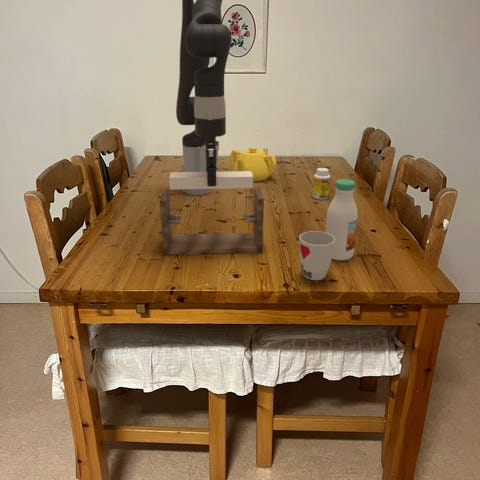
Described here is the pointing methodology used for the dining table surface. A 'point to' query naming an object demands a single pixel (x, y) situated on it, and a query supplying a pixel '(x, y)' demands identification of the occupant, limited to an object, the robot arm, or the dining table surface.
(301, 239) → the cup
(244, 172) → the shelf board
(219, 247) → the shelf frame
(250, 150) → the teapot
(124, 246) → the dining table surface
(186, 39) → the robot arm
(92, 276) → the dining table surface
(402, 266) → the dining table surface
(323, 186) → the supplement bottle
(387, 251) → the dining table surface
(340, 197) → the milk bottle
